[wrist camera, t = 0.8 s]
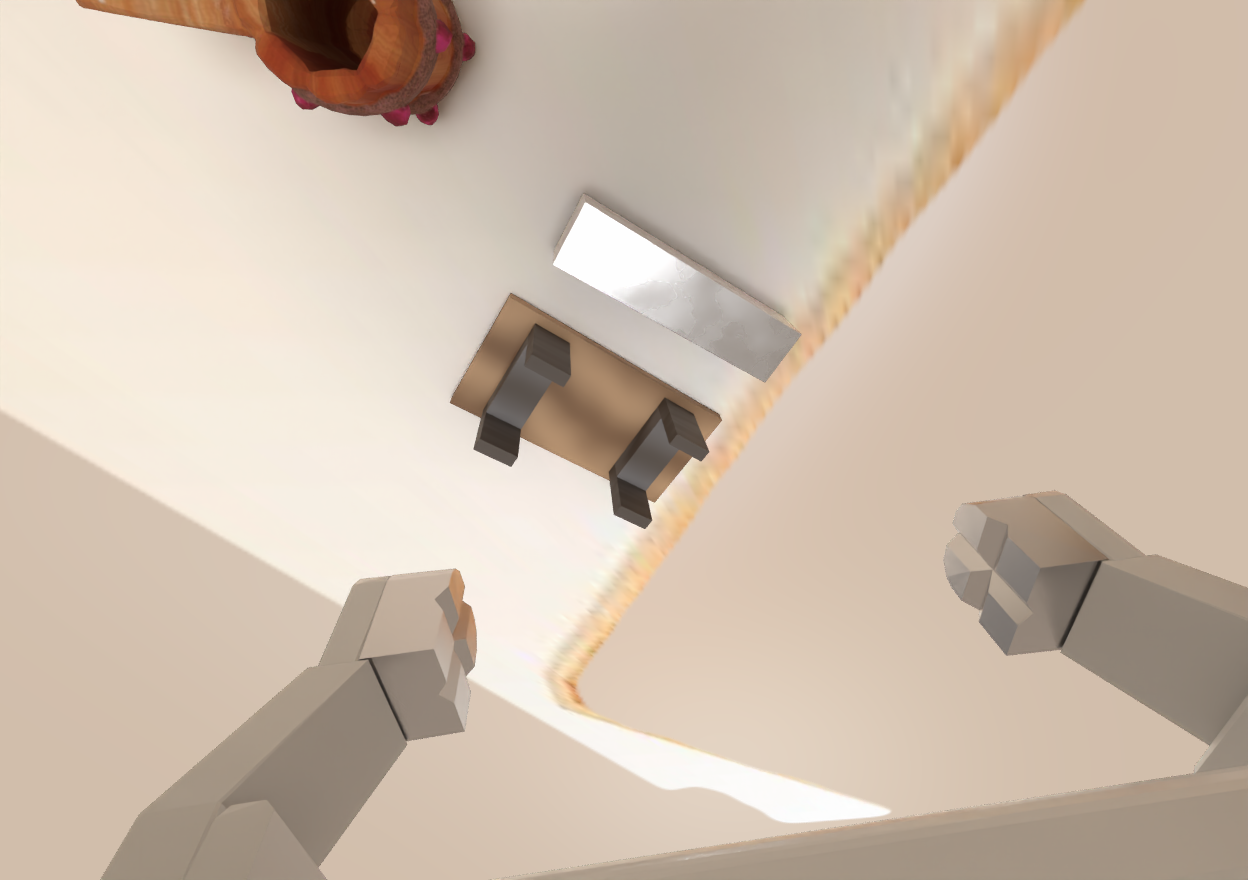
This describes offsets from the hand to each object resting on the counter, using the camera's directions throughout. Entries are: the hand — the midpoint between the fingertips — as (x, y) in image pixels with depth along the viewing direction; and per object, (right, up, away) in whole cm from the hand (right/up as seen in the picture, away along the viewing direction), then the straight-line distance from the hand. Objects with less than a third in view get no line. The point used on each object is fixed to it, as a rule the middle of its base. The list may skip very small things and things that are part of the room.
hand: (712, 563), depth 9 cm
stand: (-4, +5, +39) cm, 39 cm away
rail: (+2, +14, +34) cm, 37 cm away
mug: (-17, +26, +25) cm, 40 cm away
